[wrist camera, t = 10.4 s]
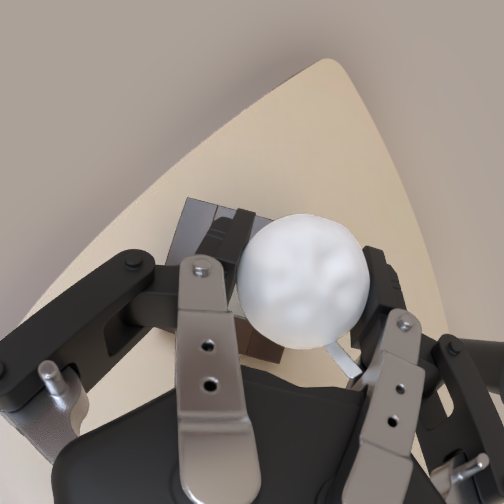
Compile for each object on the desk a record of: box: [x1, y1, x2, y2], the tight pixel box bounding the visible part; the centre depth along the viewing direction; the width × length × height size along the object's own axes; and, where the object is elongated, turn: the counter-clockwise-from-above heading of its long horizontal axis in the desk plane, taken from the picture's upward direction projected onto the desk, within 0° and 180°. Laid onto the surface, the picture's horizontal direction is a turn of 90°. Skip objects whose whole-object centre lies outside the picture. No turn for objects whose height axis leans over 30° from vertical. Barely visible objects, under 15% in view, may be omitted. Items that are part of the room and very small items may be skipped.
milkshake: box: [236, 214, 370, 379], centre depth 13 cm, size 4×5×10 cm
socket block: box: [156, 197, 284, 364], centre depth 29 cm, size 12×12×4 cm
